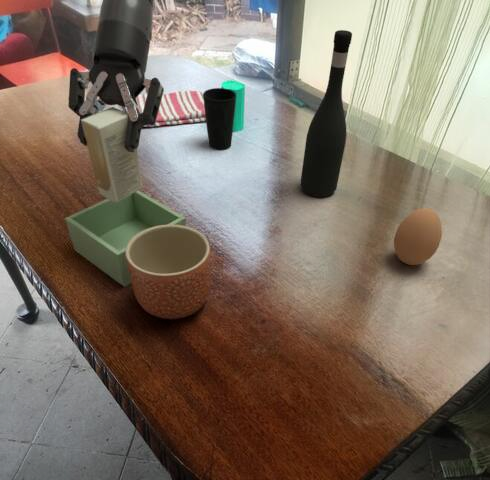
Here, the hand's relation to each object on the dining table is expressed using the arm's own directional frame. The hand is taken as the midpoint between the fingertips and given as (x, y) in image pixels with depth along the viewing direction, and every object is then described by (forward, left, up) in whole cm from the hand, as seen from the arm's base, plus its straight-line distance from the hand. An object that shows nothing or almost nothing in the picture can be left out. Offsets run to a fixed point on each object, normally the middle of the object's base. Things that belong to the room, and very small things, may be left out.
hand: (107, 147), depth 67 cm
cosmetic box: (+1, +1, -9) cm, 9 cm away
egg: (+34, -38, -20) cm, 55 cm away
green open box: (+1, +1, -20) cm, 20 cm away
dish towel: (+47, +42, -20) cm, 66 cm away
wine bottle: (+43, -11, -20) cm, 49 cm away
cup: (+43, +19, -20) cm, 51 cm away
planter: (-3, -15, -20) cm, 26 cm away
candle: (+53, +24, -20) cm, 62 cm away
